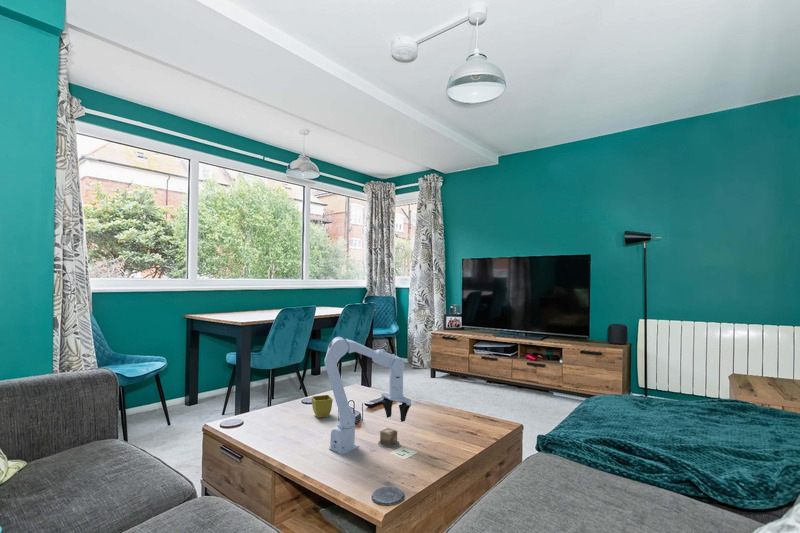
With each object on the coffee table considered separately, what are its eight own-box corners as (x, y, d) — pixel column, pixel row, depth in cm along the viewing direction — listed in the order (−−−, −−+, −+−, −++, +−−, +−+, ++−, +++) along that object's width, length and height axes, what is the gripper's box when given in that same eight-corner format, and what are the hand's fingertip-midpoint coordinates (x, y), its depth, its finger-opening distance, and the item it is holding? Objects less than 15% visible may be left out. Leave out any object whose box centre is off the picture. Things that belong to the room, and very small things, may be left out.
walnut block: (389, 446, 161) (389, 434, 161) (380, 443, 164) (380, 431, 164) (397, 443, 165) (397, 430, 165) (387, 439, 168) (388, 427, 168)
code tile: (405, 460, 150) (405, 459, 150) (388, 454, 155) (388, 453, 156) (417, 453, 157) (417, 452, 157) (401, 447, 162) (401, 446, 162)
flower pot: (310, 414, 199) (311, 396, 200) (327, 412, 203) (328, 394, 203) (314, 420, 191) (315, 401, 192) (332, 417, 195) (333, 399, 195)
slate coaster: (390, 450, 158) (390, 449, 158) (373, 444, 164) (373, 443, 164) (404, 443, 165) (404, 442, 165) (387, 438, 171) (387, 437, 171)
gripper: (415, 387, 165) (415, 420, 164) (389, 381, 174) (388, 412, 173) (405, 390, 159) (405, 425, 159) (378, 384, 168) (378, 417, 168)
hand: (395, 419), depth 166 cm, fingers open, 7 cm apart
